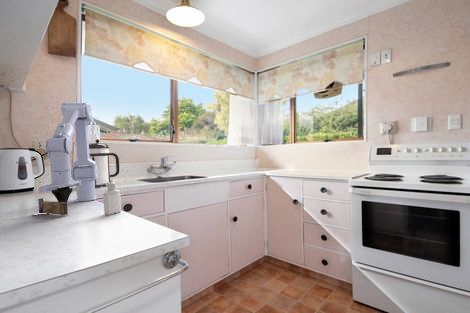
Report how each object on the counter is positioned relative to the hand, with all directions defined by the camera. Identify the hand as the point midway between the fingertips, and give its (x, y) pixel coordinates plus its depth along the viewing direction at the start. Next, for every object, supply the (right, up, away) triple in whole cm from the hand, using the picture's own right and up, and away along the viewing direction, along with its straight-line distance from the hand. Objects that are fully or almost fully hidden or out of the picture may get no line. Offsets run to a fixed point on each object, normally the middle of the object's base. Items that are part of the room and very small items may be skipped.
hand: (63, 208), depth 87 cm
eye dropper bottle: (+18, -2, -1) cm, 18 cm away
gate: (-2, -1, -1) cm, 3 cm away
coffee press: (-25, 0, +69) cm, 74 cm away
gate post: (-9, -2, +2) cm, 9 cm away
